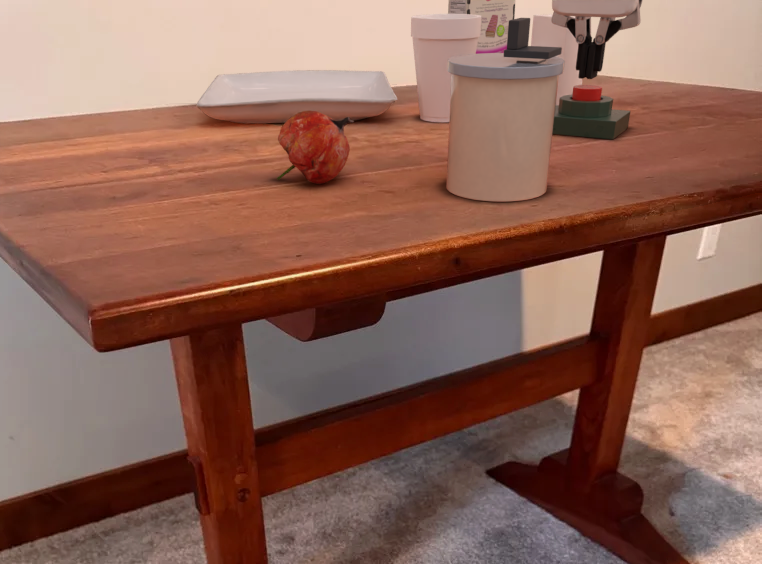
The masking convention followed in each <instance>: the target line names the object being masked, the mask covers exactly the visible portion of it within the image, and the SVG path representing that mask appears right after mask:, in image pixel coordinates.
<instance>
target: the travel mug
mask: <svg viewBox="0 0 762 564" xmlns="http://www.w3.org/2000/svg"><path fill="white" fill-rule="evenodd" d="M564 64H565V61H564V60H563V59H562V58H559V57H552V58H550V59H533V58H514V57H504V53H481V54H468V55H460V56H455V57H452V58H449V59H448V66H447V70H448V72H449V73H451V94H450V116H449V122H448V140H447V141H448V143H447V163H446V166H447V167H446V186H445V187H446V190H447V191H448V192H449V193H451V194H452V195H455V196H457V197H460V198H464V199H469V200H474V201H481V202H494V203H495V202H497V203H499V202H500V203H505V202H506V203H508V202H521V201H528V200H532V199H537V198H539V197H541V196H543V195H545V193H546V192H547V189H548V182H549V181H548V180H549V171H550V161H551V152H552V145H553V142H552V141H553V135H554V134H553V125H554V116H555V107H556V97H557V88H558V79H559V75H560V74H562V73H563V72H564Z"/></svg>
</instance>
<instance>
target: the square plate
mask: <svg viewBox="0 0 762 564" xmlns="http://www.w3.org/2000/svg"><path fill="white" fill-rule="evenodd" d="M395 93H396V92H395V91H394V89H393V88H392V86H391V85H390V81H389V80H388V76H387V74H386V73H385V72H384V71H382V70H345V69H344V70H341V69H298V70H296V69H295V70H294V69H293V70H272V71H256V72H242V73H223V74H218V75H217V76H216V77H214V79H213V80H212V82H211V83H210V84H209V85H208V87H207V88H206V89H205V91H204V92H203V94H202V95H201V96H200V98H199V99H198V101H197V103H196V108H197V109H199V110H200V111H201V112H202V113H203V114H204V115H206V116H208V117H209V118H212V119H214V120H217V121H227V122H230V123H236V124H283V123H284V124H285V122H286V121H287V120H288V119H290V118H291V117H292V116H294V115H295V114H297V113H298V112H302V111H309V110H310V111H317V112H320V113H322V114H324V115H327V116H328V117H330V118H332V119H333V120H335V121H340V120H342V119H344V118H346V117H349V118H350V119H351V120H353V121H360V120H364V119H366V118H371V117H372V118H373V117H377V116H380V115H382V114H384V113H385V112H386V111H388V109H389V108H390V107H391V106H392V105H393V104H394V103H395V102H396V101H398V97H397V95H396V94H395Z"/></svg>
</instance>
